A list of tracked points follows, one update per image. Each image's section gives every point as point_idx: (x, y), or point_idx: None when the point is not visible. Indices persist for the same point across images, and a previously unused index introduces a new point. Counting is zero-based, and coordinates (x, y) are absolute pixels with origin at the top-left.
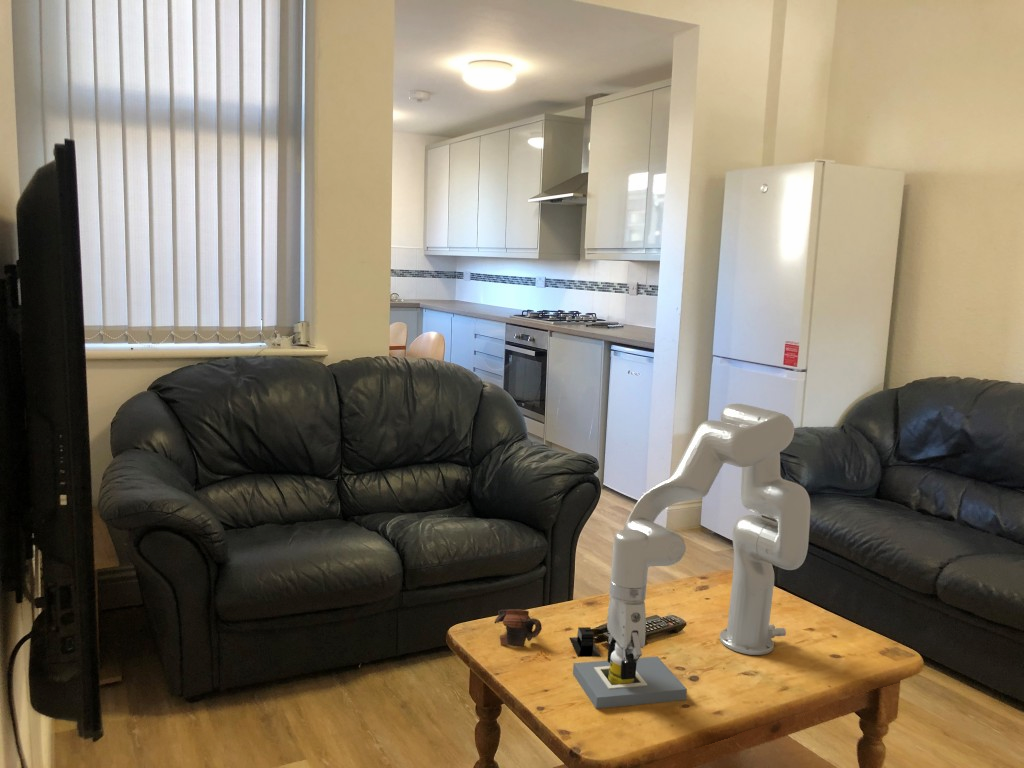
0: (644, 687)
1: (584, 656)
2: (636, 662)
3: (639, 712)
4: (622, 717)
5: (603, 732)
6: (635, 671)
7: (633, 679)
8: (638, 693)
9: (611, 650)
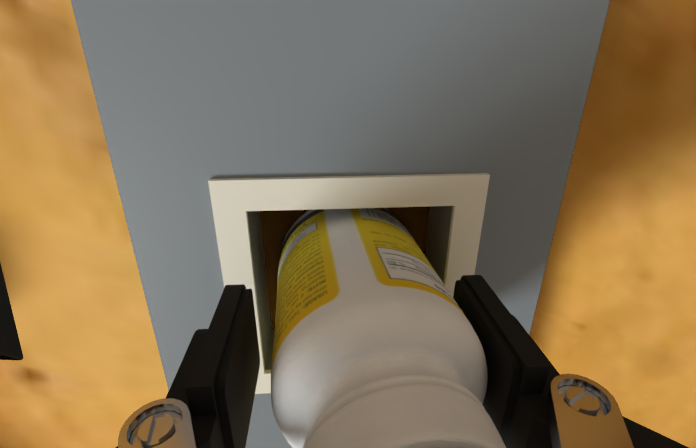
0: (501, 200)
1: (13, 330)
2: (539, 353)
3: (572, 245)
4: (573, 322)
5: (621, 404)
6: (498, 302)
7: (411, 239)
8: (545, 259)
9: (244, 433)
